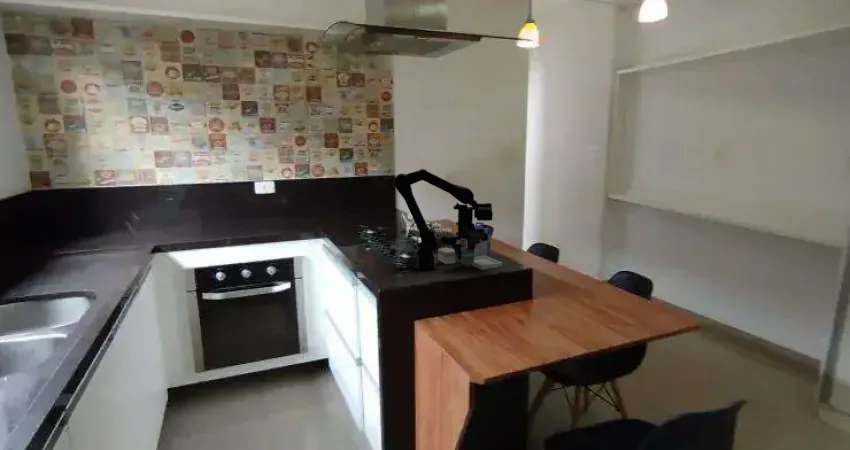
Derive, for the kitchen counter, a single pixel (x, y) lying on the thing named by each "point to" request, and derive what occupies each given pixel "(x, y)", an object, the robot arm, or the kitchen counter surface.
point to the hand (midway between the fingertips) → (464, 259)
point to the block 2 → (466, 256)
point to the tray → (485, 263)
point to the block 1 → (446, 255)
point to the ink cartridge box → (482, 242)
